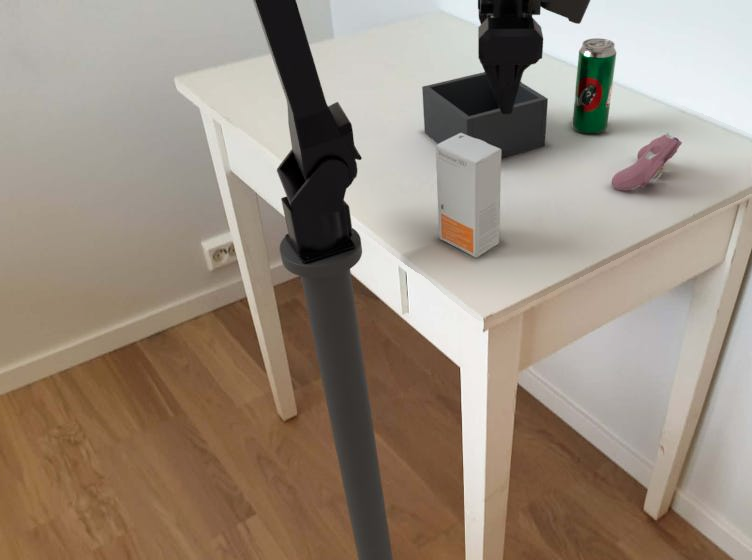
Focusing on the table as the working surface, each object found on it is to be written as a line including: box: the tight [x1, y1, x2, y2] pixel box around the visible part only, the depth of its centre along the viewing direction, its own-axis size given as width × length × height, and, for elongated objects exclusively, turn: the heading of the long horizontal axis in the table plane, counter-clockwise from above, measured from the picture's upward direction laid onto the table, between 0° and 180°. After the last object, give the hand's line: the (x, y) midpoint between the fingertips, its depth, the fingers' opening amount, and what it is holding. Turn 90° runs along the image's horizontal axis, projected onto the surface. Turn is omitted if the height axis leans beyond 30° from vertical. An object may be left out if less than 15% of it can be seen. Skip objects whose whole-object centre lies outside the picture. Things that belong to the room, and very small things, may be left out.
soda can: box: [571, 37, 617, 135], centre depth 102 cm, size 5×5×12 cm
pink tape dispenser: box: [611, 132, 683, 191], centre depth 93 cm, size 10×5×7 cm, turn 147°
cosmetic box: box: [435, 133, 502, 258], centre depth 81 cm, size 6×4×12 cm
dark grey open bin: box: [421, 71, 549, 159], centre depth 102 cm, size 13×13×7 cm
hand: (505, 96), depth 82 cm, fingers open, 9 cm apart
